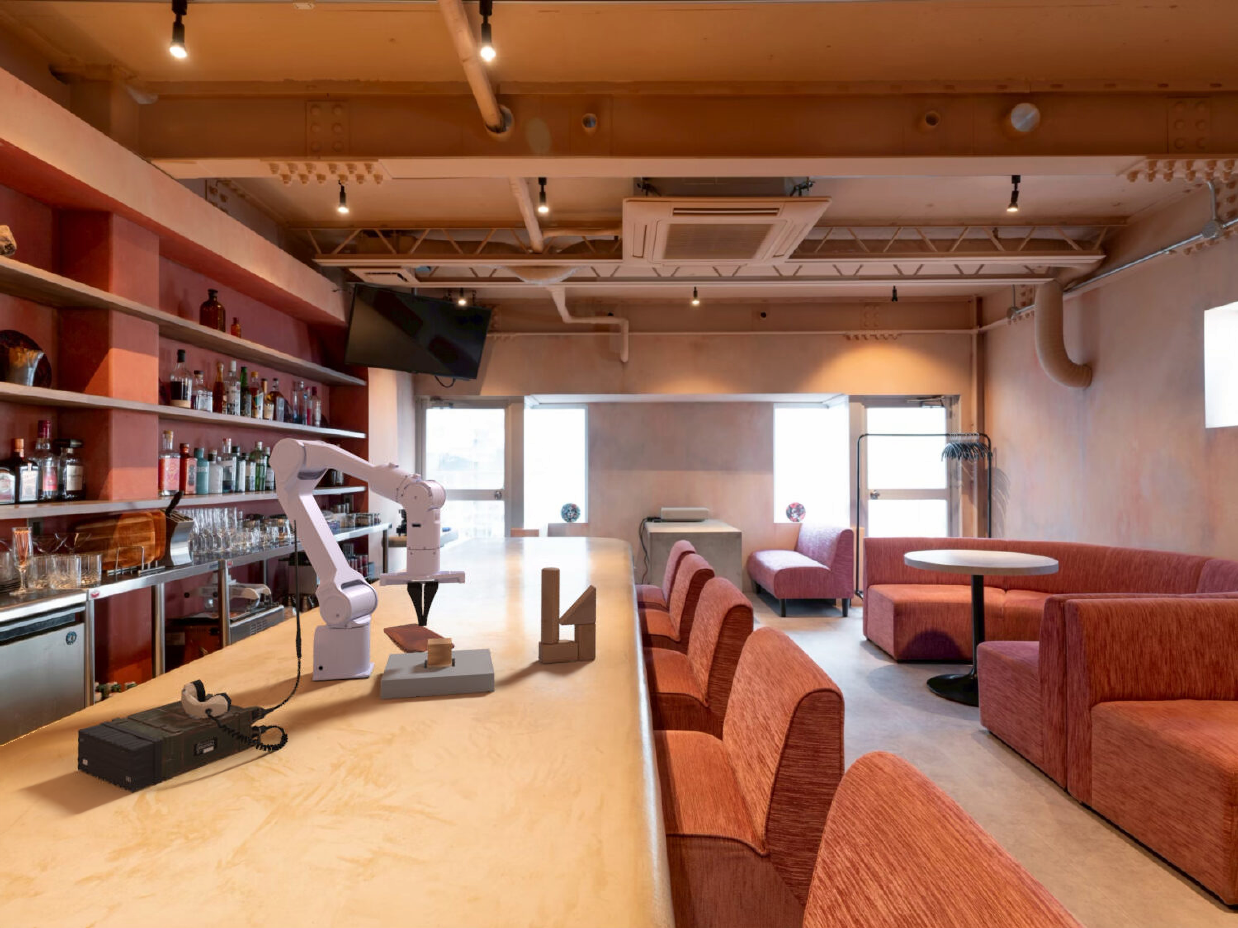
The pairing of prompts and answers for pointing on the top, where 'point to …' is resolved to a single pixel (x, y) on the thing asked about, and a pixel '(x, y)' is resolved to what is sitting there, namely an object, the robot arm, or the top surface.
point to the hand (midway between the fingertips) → (422, 624)
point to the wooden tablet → (412, 637)
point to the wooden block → (566, 622)
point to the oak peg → (439, 653)
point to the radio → (177, 733)
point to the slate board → (437, 675)
